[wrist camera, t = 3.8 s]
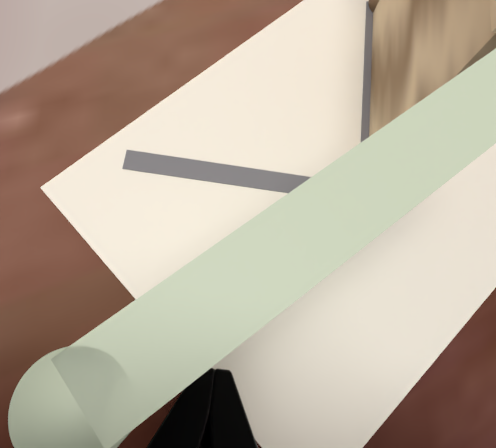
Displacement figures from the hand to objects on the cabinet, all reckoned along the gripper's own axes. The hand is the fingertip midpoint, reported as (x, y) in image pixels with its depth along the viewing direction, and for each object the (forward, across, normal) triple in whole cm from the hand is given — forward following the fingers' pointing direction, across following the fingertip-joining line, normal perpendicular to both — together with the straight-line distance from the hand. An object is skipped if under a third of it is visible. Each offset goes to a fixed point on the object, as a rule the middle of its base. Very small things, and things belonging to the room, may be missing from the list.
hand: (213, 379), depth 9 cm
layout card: (+12, -5, -2) cm, 13 cm away
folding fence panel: (+8, -3, +2) cm, 8 cm away
